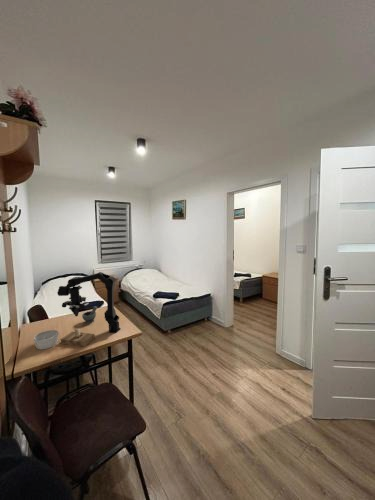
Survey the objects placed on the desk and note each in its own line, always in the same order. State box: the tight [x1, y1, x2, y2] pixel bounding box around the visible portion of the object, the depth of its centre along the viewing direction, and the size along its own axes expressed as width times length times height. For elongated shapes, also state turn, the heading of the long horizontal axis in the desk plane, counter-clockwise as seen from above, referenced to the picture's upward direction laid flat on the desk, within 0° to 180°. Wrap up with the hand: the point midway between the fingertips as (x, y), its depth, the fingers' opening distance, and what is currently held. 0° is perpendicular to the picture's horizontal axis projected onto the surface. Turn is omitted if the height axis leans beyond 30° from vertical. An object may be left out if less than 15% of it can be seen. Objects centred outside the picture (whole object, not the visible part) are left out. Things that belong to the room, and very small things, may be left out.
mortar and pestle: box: [81, 306, 98, 325], centre depth 165 cm, size 11×9×12 cm
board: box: [59, 331, 95, 348], centre depth 138 cm, size 18×10×3 cm, turn 77°
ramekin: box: [33, 329, 59, 350], centre depth 134 cm, size 13×13×7 cm
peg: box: [74, 328, 81, 339], centre depth 138 cm, size 3×3×8 cm
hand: (76, 316), depth 149 cm, fingers closed
